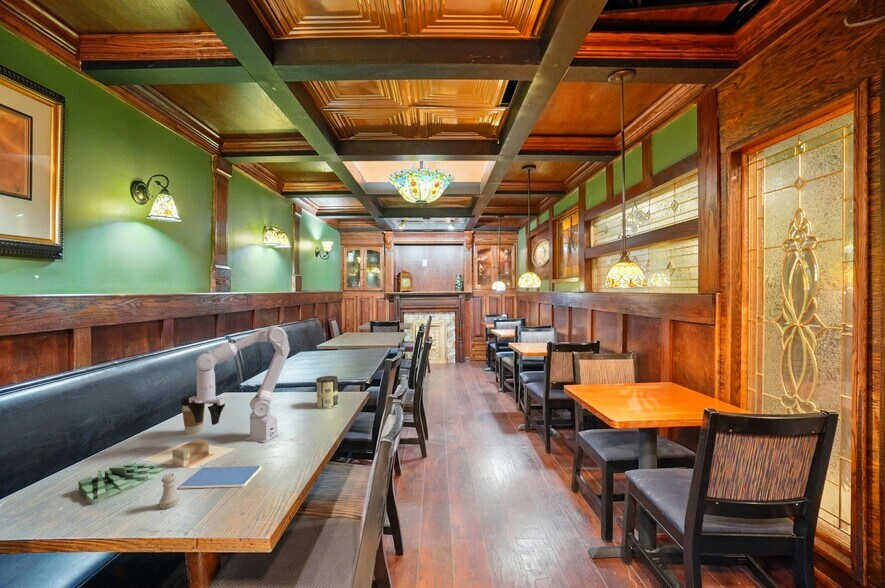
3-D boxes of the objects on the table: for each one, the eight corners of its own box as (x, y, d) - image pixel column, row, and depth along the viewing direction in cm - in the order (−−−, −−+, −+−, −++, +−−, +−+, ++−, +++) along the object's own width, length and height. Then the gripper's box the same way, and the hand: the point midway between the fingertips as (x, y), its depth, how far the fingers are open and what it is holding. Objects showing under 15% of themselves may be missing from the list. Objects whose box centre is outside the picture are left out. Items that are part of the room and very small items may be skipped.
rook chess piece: (165, 500, 103) (165, 471, 103) (182, 499, 104) (182, 470, 104) (154, 510, 99) (154, 479, 99) (172, 509, 99) (172, 478, 99)
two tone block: (197, 453, 133) (197, 439, 133) (208, 455, 131) (208, 440, 131) (172, 464, 124) (172, 449, 124) (183, 466, 122) (183, 451, 122)
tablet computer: (263, 468, 123) (263, 464, 123) (244, 489, 110) (244, 484, 110) (202, 471, 122) (202, 466, 122) (176, 491, 109) (176, 487, 109)
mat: (235, 450, 136) (235, 448, 136) (194, 470, 121) (194, 468, 121) (185, 443, 144) (185, 441, 144) (141, 461, 128) (141, 459, 128)
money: (116, 472, 121) (115, 457, 121) (167, 471, 122) (167, 456, 122) (54, 508, 101) (53, 490, 101) (116, 506, 102) (115, 488, 102)
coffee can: (331, 401, 196) (330, 374, 196) (342, 405, 189) (341, 377, 189) (312, 406, 188) (312, 378, 188) (323, 410, 181) (322, 381, 181)
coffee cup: (176, 435, 152) (176, 398, 152) (197, 428, 160) (196, 392, 160) (190, 438, 149) (189, 400, 149) (210, 430, 157) (210, 394, 157)
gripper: (180, 388, 136) (181, 425, 137) (212, 390, 132) (213, 428, 132) (198, 383, 143) (199, 418, 143) (228, 385, 139) (229, 421, 139)
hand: (207, 423), depth 138 cm, fingers open, 7 cm apart
